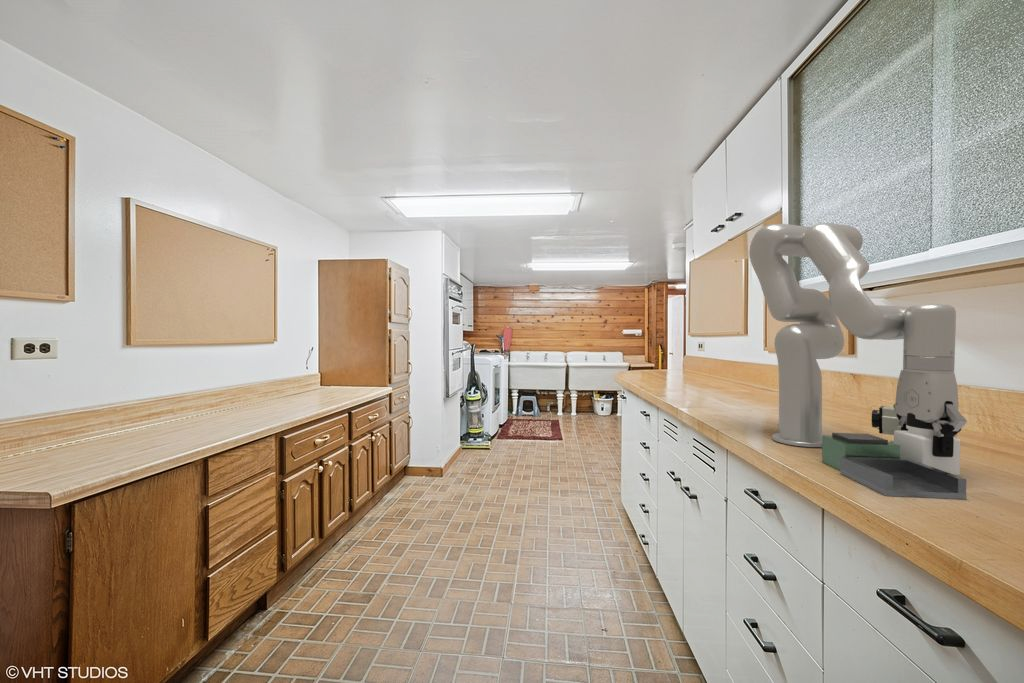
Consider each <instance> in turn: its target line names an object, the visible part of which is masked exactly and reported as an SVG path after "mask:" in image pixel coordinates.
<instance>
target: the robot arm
mask: <svg viewBox="0 0 1024 683" xmlns="http://www.w3.org/2000/svg"><path fill="white" fill-rule="evenodd" d="M863 239H864V238H863V235H862V232H860V231H859V229H857V228H856V227H854V226H853V225H852V226H851V225H847V224H839V223H832V222H821V223H817V224H814V225H812V226H805V225H796V224H789V223H788V224H787V223H771V224H767V225H765V226H762V227H761V228H760V229H758V230H757V231H756V232H755V234H754V236H753V237H752V240H751V242H750V245H749V250H748V251H749V252H748V253H749V260H750V263H751V266H752V268H753V271H754V273H755V275H756V277H757V279H758V281H759V284H760V287H761V291H762V294H763V296H764V299H765V300H764V301H765V302H766V305H767V308H768V310H769V313H770V315H771V317H772V318H773V319H774V320H776V321H779V322H783V323H792V324H788V325H785V326H784V327H782V328H781V329H779V330H778V332H777V333H776V335H775V337H774V350H775V355H776V360H777V366H778V368H777V369H778V423H777V427H778V432H776V433H773V434H772V438H771V439H772V440H773V441H774V442H777V443H780V444H783V445H784V444H785V445H790V446H795V447H801V448H803V447H804V448H822V435H823V389H822V388H823V377H822V372H821V368H820V365H819V363H818V361H817V360H827V359H833V358H835V357H837V356H838V355H840V354H841V353H842V351H843V349H844V346H845V337H844V332H843V330H842V328H841V325H840V323H841V324H842V326H844V327H843V328H845V329H846V330H847V331H848V332H849V333H850V334H851V335H853V336H855V337H856V338H859V339H862V340H869V341H870V340H871V341H872V340H881V341H882V340H883V341H884V340H885V341H890V340H891V341H892V340H895V341H896V340H897V341H898V340H903V346H902V347H903V350H902V352H903V354H902V355H903V356H902V369H901V370H900V373H899V377H898V380H897V385H896V391H895V403H894V404H893V405H892V407H894V409H895V412H896V413H897V417H898V419H899V425H900V426H903V427H901V431H908V429H907V428H906V417H907V413H912V414H914V415H915V419H918V420H920V421H923V422H929V423H932V426H933V428H934V431H935V433H936V435H937V436H933V456H936V457H953V446H954V438H957V436H958V433H960V432H961V431H962V428H963V427H964V426H965V425H966V424H968V423H967V422H968V420H967V419H966V417H965V416H964V415H962V413H960V411H959V409H960V408H959V406H960V405H959V404H960V403H959V392H958V390H959V389H958V383H957V382H958V381H957V379H956V374H955V362H956V360H955V359H956V357H955V356H956V331H957V330H956V329H957V326H956V325H957V324H956V323H957V311H956V309H955V307H954V306H952V305H950V304H941V303H939V304H938V303H937V304H933V303H931V304H917V305H916V304H915V305H911V306H901V305H900V306H899V305H898V306H897V305H884V304H883V305H878V304H875V303H874V302H873V301H872V300H871V299H870V297H869V296H868V295H867V293H866V292H865V290H864V289H863V287H862V285H861V283H860V280H861V279H862V278H863V277H864V276H866V275H867V273H868V271H869V270H870V264H869V262H868V260H867V259H865V257H864V256H863V255H862V254H861V252H860V250H861V249H862V247H863V243H864V240H863ZM784 256H785V257H797V258H799V257H800V258H809V259H810V260H811V261H812V263H813V265H815V267H816V268H817V270H818V271H819V272H820V274H821V275H822V277H823V278H824V280H826V281H827V283H828V293H827V294H828V297H827V295H826V294H825V293H823V292H821V291H820V290H817V289H814V288H805V287H804V288H803V287H801V285H800V284H799V282H798V279H797V277H796V275H795V272H794V270H793V268H792V266H790V265H789V263H788V262H787V261H786V260H785V259H784ZM839 322H840V323H839ZM793 323H794V324H793ZM940 418H944V420H939V419H940ZM941 425H945V427H944V428H943V429H942V427H941Z"/></svg>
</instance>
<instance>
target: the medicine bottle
mask: <svg viewBox="0 0 1024 683" xmlns="http://www.w3.org/2000/svg"><path fill="white" fill-rule="evenodd" d="M939 420H944V418H940V419H939ZM941 427H942V429H943V428H944V427H945V425H941ZM906 428H907V429H908V431H900V430H896V431H894V435H893V441H894V444H897V445H900V459H910V460H913V461H916V462H919V463H922V464H925V465H928V466H930V467H933V468H936V469H939V470H942V471H945V472H948V473H950V474H953V475H956V476H959V475H960V472H961V470H960V469H961V467H960V466H961V445H962V444H961V443H962V442H961V439H960V438H957V437H955V438H954V446H953V457H936V456H933V436H937V435H936V433H935V431H934V428H933V426H932V423H929V422H923V421H920V420H918V419H915V415H914V414H912V413H907V417H906Z"/></svg>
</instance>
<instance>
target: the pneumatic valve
mask: <svg viewBox="0 0 1024 683" xmlns="http://www.w3.org/2000/svg"><path fill="white" fill-rule="evenodd" d="M871 411H872V412H871V427H872V428H875V429H877V430H878V432H879V433H878V434H881V435H883V434H884V435H890V436H891V435H892V436H894V431H896V430H900V431H901V427H903V426H900V425H899V419H898V417H897V413H896V412H895V409H894V407H893V406H890V405H889V406H887V405H881V406H880V407H879V408H878V409H872V410H871ZM889 442H890V443H893V444H894V440H890V441H889Z"/></svg>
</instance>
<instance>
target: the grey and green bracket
mask: <svg viewBox="0 0 1024 683" xmlns="http://www.w3.org/2000/svg"><path fill="white" fill-rule="evenodd" d="M821 462H822V463H823V462H824V463H823V464H825V463H826V465H827V464H828V466H829V465H830V466H829V467H831V466H832V468H834V469H836V470H838V471H839V474H841V475H842V476H844V477H846V478H849V479H850V478H851V479H850V480H852V481H854V480H855V481H854V482H856V481H857V483H858V482H859V483H858V484H860V483H861V485H862V484H863V486H864V485H865V486H864V487H866V486H867V487H866V488H868V487H869V488H868V489H870V488H871V491H875V492H877V493H879V494H880V495H883V496H886V497H901V496H905V497H906V498H927V499H945V498H947V499H949V500H967V478H966V477H961V476H959V475H953V474H950V473H948V472H945V471H942V470H939V469H936V468H933V467H930V466H928V465H925V464H922V463H919V462H916V461H913V460H910V459H900V445H897V444H893V443H890V441H889V440H888V439H886V438H882V437H879V436H875V435H873V434H870V433H852V432H851V433H849V432H832V433H831V435H829V434H828V435H827V434H826V435H825V434H822V447H821ZM947 499H946V500H947Z"/></svg>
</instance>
